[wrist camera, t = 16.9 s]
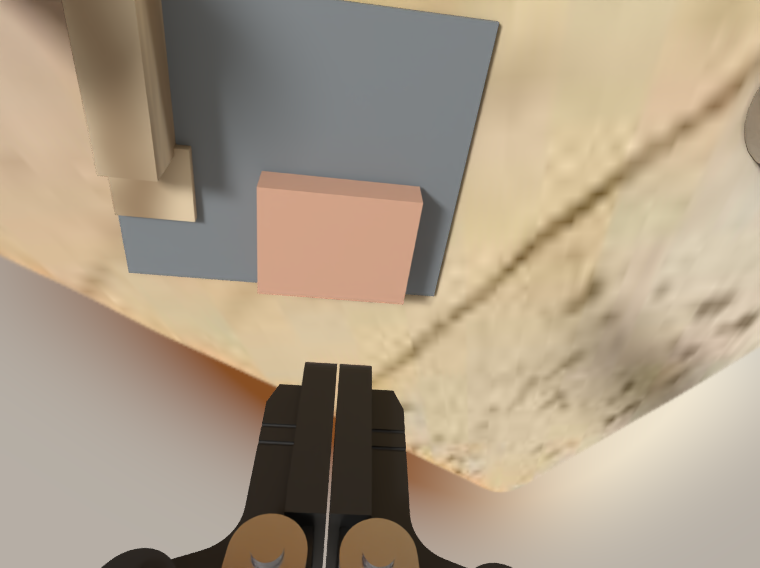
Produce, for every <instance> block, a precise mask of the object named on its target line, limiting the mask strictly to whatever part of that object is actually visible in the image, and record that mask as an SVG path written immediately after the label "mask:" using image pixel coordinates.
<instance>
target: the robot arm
mask: <svg viewBox="0 0 760 568" xmlns="http://www.w3.org/2000/svg"><path fill="white" fill-rule="evenodd" d="M745 141H746V145H747V148H748V151H749V153H750V154H751V156H752V157H753V159H754V160H755V161H756V162H758V163H759V164H760V88H759V89H758V91H757V92H756V94H755V96H754V98H753V101H752V103H751V105H750V107H749V110H748V113H747V118H746V122H745ZM336 373H337V364H330V363H314V362H305V367H304V374H303V381H302V386H301V385H284V384H280V385H279V386H278V387H277V389H276V390H275V391H274V393H273V394H272V395H271V397H270V398H269V399H268V401H267V402H266V407H265V412H264V417H263V422H262V427H261V432H260V436H259V443H258V446H257V451H256V456H255V461H254V466H253V471H252V476H251V481H250V486H249V491H248V495H247V501H246V506H245V510H244V513H243V516H242V518H241V520H240V522H239V523H238V525H237V526H236V528H235V529H234V530H233V531H232V532H231V533H230V535H228V536H227V537H226V538H225V539H224V540H222V541H221V542H219V543H218V544H216V545H214V546H212V547H210V548H207V549H204V550H201V551H198V552H195V553H191V554H188V555H184V556H181V557H177V558H174V559H170V558H169V557H168V556H167V555H166V554H164V553H163V552H161V551H158V550H155V549H149V548H140V549H134V550H130V551H127V552H124V553H122V554H120V555H118V556H116V557H115V558H113V559H112V560H110V561H109V562H108V563H107V564H105V565H104V566H103V567H102V568H322V565H323V552H324V538H325V524H326V510H327V496H328V483H329V469H330V455H331V442H332V428H333V414H334V400H335V387H336ZM326 568H466V567H463V566H461V565H458V564H456V563H453V562H451V561H448V560H445V559H443V558H441V557H439V556H437V555H435V554H434V553H432V552H431V551H430V550H428V549H427V548H426V547H425V546H424V545H423V544H422V542H421V541H420V540H419V539H418V537H417V535H416V534H415V532H414V529H413V527H412V524H411V520H410V509H409V493H408V476H407V459H406V442H405V425H404V409H403V408H402V406H401V404H400V402H399V400H398V399H397V397H396V395H395V393H394V391H389V390H372V367H371V366H364V365H348V364H340V370H339V383H338V397H337V410H336V423H335V439H334V452H333V467H332V482H331V497H330V512H329V526H328V541H327V556H326ZM476 568H511V567H509V566H506V565H503V564H499V563H487V564H483V565H480V566H478V567H476Z"/></svg>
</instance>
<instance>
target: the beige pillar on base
mask: <svg viewBox="0 0 760 568" xmlns="http://www.w3.org/2000/svg"><path fill="white" fill-rule="evenodd" d="M62 4H63V9H64V14H65V19H66V24H67V29H68V34H69V39H70V44H71V49H72V54H73V59H74V64H75V69H76V74H77V79H78V84H79V89H80V94H81V99H82V104H83V109H84V114H85V119H86V124H87V129H88V134H89V139H90V144H91V149H92V154H93V159H94V164H95V169H96V174H97V176H104V177H108V180H109V185H110V190H111V196H112V201H113V206H114V212H115V215H121V216H132V217H144V218H155V219H166V220H177V221H189V222H195V221H196V219H197V210H196V198H195V186H194V174H193V162H192V150H191V146H186V145H177V144H176V141H175V131H174V121H173V112H172V102H171V92H170V82H169V72H168V62H167V52H166V43H165V33H164V23H163V13H162V3H161V0H62Z"/></svg>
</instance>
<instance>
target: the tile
mask: <svg viewBox="0 0 760 568" xmlns="http://www.w3.org/2000/svg"><path fill="white" fill-rule="evenodd" d="M422 206H423V200H422V195H421V191H420V187H419V186H409V185H399V184H389V183H379V182H369V181H358V180H348V179H338V178H328V177H318V176H308V175H298V174H288V173H278V172H268V171H262V172H261V175H260V178H259V181H258V184H257V281H258V293H259V294H272V295H285V296H299V297H312V298H325V299H338V300H352V301H365V302H378V303H391V304H403V302H404V297H405V292H406V287H407V282H408V277H409V272H410V267H411V262H412V257H413V252H414V247H415V242H416V237H417V232H418V227H419V222H420V217H421V211H422Z"/></svg>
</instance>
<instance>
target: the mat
mask: <svg viewBox="0 0 760 568" xmlns="http://www.w3.org/2000/svg"><path fill="white" fill-rule="evenodd" d="M161 3H162V13H163V23H164V33H165V43H166V52H167V62H168V72H169V82H170V92H171V102H172V112H173V121H174V131H175V141H176V144H177V145H186V146H191V150H192V162H193V174H194V186H195V198H196V210H197V219H196V221H195V222H189V221H177V220H166V219H155V218H144V217H132V216H121V215H118V216H119V222H120V227H121V232H122V238H123V243H124V249H125V254H126V260H127V265H128V270H129V273H140V274H153V275H166V276H179V277H192V278H205V279H218V280H230V281H243V282H256V283H258V281H257V184H258V181H259V178H260V175H261V172H262V171H268V172H278V173H288V174H298V175H308V176H318V177H328V178H338V179H348V180H358V181H369V182H379V183H389V184H399V185H409V186H419V187H420V191H421V195H422V200H423V206H422V211H421V217H420V222H419V227H418V232H417V237H416V242H415V247H414V252H413V257H412V262H411V267H410V272H409V277H408V282H407V287H406V292H405V294H411V295H424V296H434V293H435V289H436V285H437V281H438V277H439V272H440V268H441V264H442V260H443V256H444V252H445V247H446V243H447V239H448V235H449V231H450V226H451V222H452V218H453V214H454V210H455V206H456V201H457V197H458V193H459V189H460V185H461V180H462V176H463V172H464V168H465V164H466V160H467V155H468V151H469V147H470V143H471V139H472V134H473V130H474V126H475V122H476V118H477V114H478V109H479V105H480V101H481V97H482V93H483V88H484V84H485V80H486V76H487V72H488V68H489V63H490V59H491V55H492V51H493V47H494V42H495V38H496V34H497V30H498V26H499V22H498V21H491V20H484V19H476V18H469V17H462V16H454V15H447V14H439V13H432V12H425V11H417V10H410V9H403V8H395V7H388V6H380V5H373V4H366V3H358V2H351V1H343V0H161Z"/></svg>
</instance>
